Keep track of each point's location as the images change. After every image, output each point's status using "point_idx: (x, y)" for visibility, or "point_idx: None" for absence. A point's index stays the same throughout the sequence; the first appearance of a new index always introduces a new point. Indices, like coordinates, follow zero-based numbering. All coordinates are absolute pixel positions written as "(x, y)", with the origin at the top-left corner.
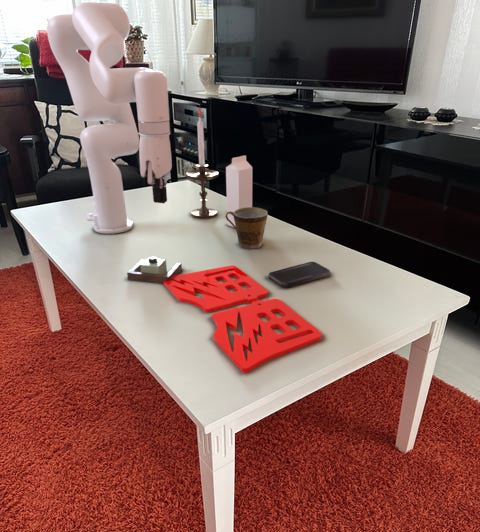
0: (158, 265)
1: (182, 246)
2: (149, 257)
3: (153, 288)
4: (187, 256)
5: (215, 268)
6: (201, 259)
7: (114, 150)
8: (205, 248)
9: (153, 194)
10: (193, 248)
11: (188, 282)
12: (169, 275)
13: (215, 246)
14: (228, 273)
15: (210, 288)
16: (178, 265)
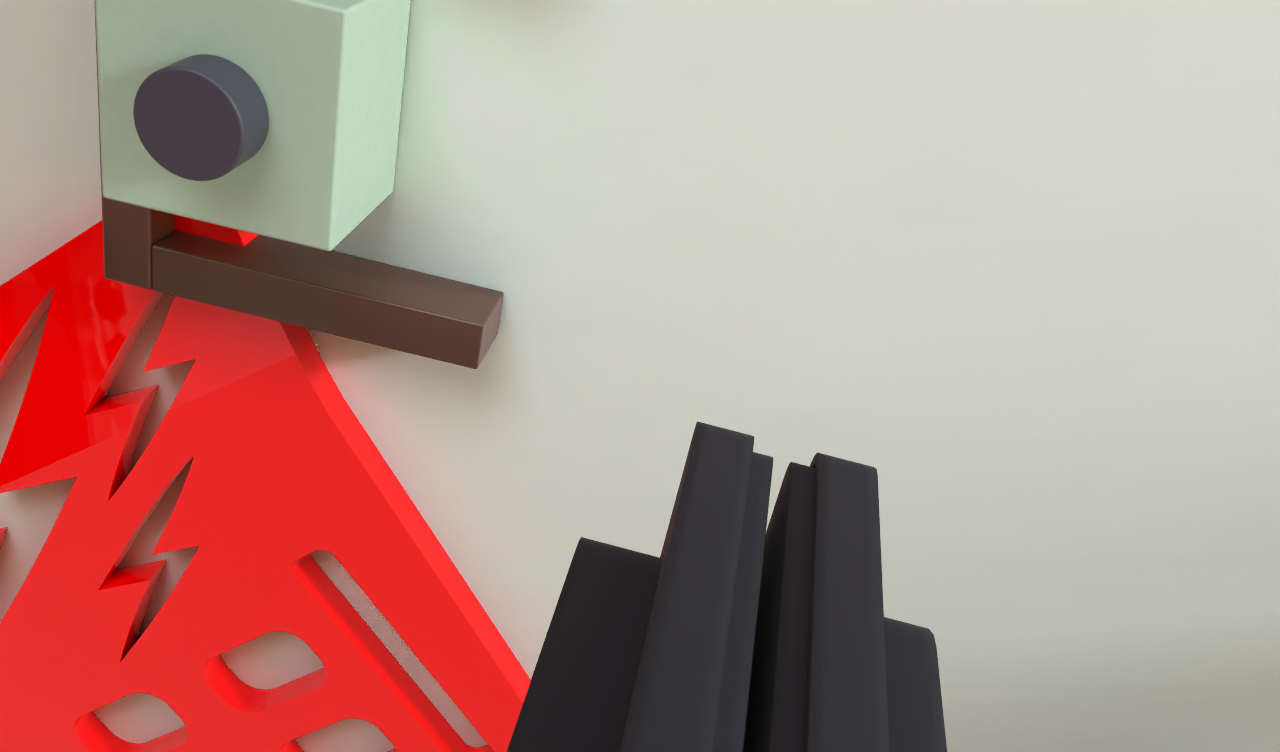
0: (136, 193)
1: (1217, 275)
2: (183, 80)
3: (28, 105)
4: (865, 359)
5: (476, 639)
6: (773, 500)
7: None
8: (1096, 531)
9: (666, 568)
10: (1118, 408)
11: (156, 434)
12: (143, 282)
13: (1143, 624)
14: (386, 726)
15: (88, 601)
16: (402, 345)
